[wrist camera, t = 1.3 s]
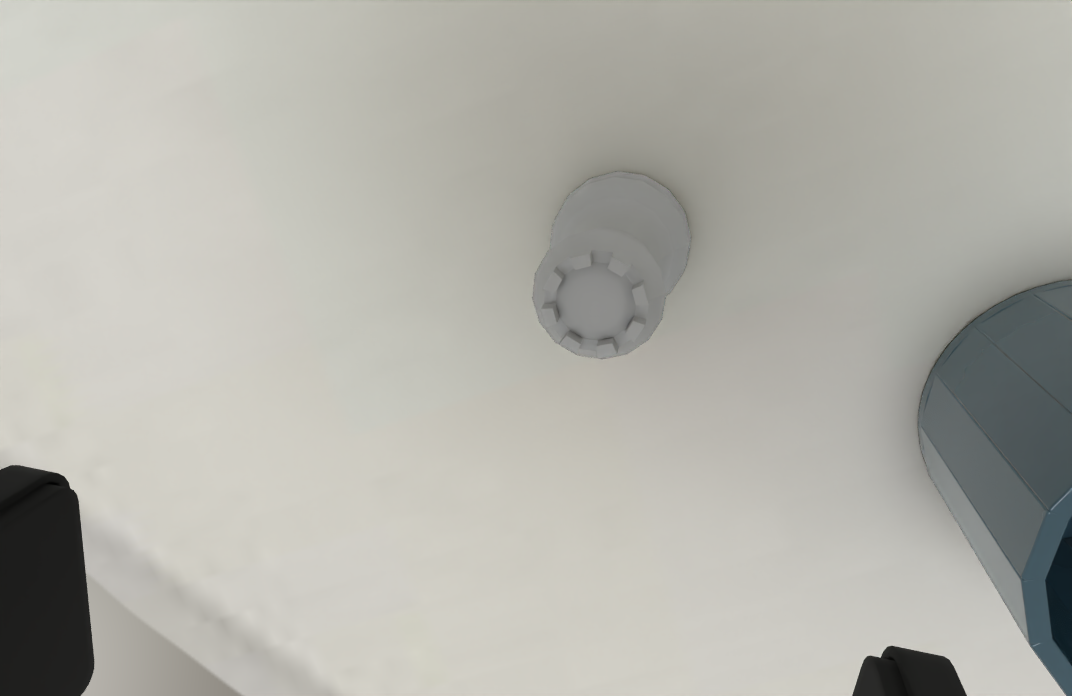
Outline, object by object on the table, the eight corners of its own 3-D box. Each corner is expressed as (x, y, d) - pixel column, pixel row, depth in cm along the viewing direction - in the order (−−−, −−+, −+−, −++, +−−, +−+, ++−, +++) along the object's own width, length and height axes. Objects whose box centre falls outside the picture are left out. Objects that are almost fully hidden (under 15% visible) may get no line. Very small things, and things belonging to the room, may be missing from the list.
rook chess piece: (689, 164, 25) (689, 204, 17) (692, 302, 26) (693, 395, 19) (548, 174, 26) (490, 216, 18) (559, 307, 27) (509, 396, 20)
